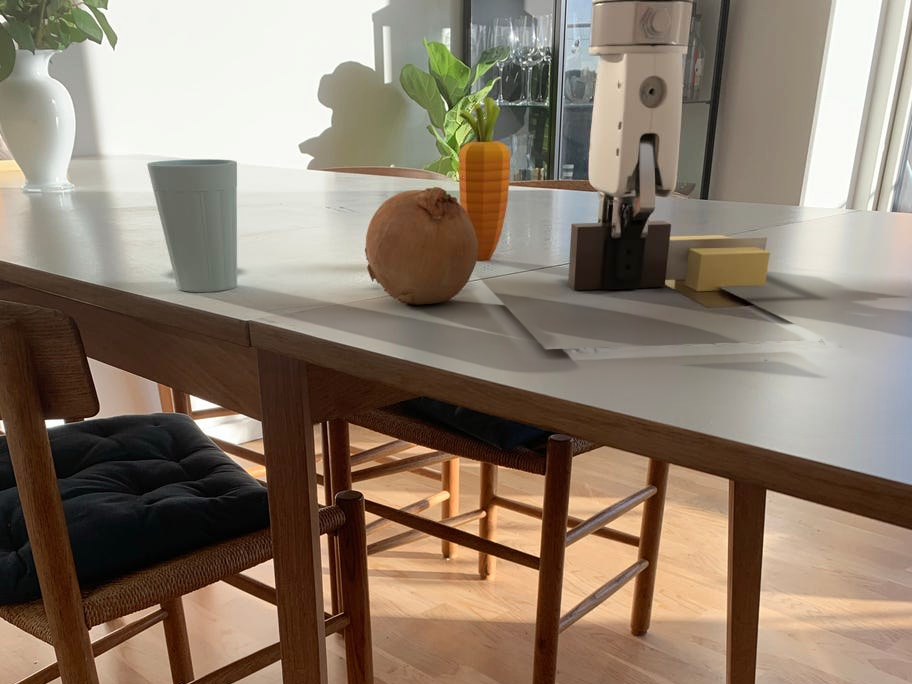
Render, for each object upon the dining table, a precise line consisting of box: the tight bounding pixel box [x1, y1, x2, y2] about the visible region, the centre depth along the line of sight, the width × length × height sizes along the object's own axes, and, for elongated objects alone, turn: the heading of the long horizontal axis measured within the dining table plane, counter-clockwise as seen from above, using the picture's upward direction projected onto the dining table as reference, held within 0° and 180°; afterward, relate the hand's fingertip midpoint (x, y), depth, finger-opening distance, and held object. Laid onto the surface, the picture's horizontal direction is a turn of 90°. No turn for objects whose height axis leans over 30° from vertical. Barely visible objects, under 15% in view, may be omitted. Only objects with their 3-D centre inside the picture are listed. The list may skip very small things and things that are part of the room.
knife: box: [567, 220, 768, 291], centre depth 81 cm, size 17×2×5 cm, turn 97°
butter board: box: [665, 280, 758, 308], centre depth 83 cm, size 9×18×1 cm, turn 7°
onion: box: [364, 186, 478, 306], centre depth 79 cm, size 10×9×10 cm
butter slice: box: [685, 247, 771, 292], centre depth 81 cm, size 6×3×3 cm, turn 97°
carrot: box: [458, 96, 511, 262], centre depth 92 cm, size 5×5×15 cm
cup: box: [146, 158, 238, 293], centre depth 85 cm, size 8×8×10 cm
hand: (616, 283), depth 82 cm, fingers closed on knife, 2 cm apart
